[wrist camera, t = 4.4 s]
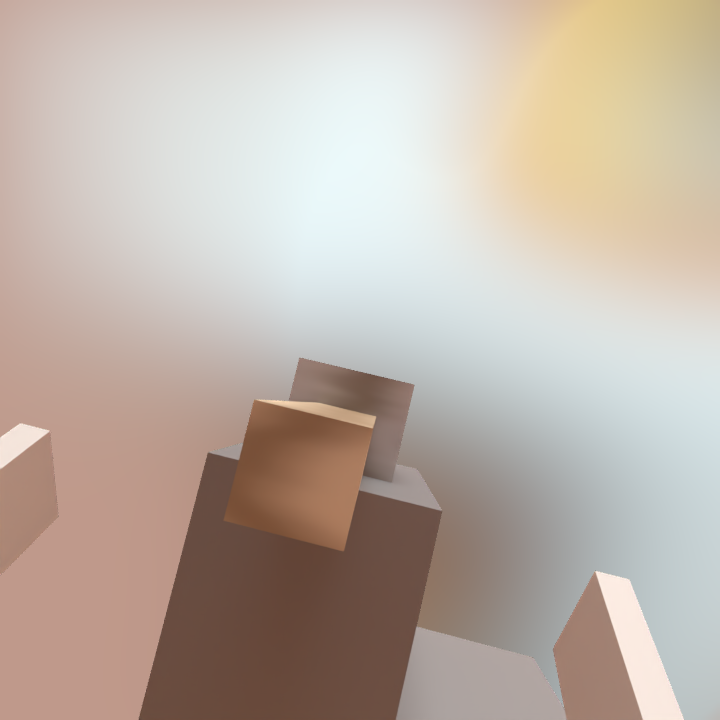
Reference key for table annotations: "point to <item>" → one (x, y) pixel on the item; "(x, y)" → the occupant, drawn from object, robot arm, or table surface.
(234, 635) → the stand
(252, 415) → the hammer
